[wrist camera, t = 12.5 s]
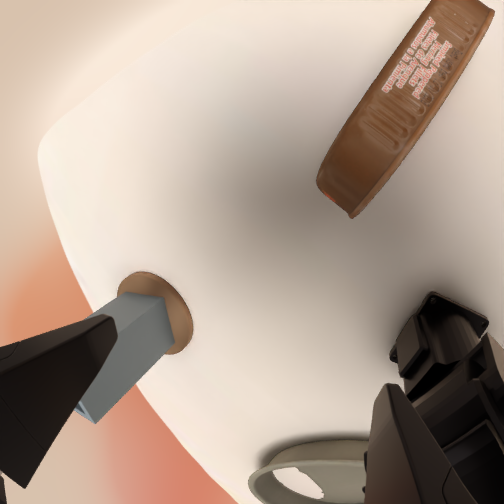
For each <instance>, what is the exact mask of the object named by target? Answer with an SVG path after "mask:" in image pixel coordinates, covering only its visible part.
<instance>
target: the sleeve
mask: <svg viewBox="0 0 504 504" xmlns="http://www.w3.org/2000/svg"><path fill="white" fill-rule="evenodd" d="M100 314H107V315H109V316H112V317H113V318H114V320H115V324H116V328H117V332H118V339H117V342H116V343H115V345H114V347H113V349H112V350H111V352H110V354H109V356H108V358H107V359H106V361H105V363H104V365H103V367H102V368H101V370H100V372H99V373H98V375H97V376H96V378H95V379H94V381H93V382H92V384H91V385H90V387H89V388H88V390H87V391H86V392H85V394H84V395H83V397H82V398H81V400H80V401H79V403H78V404H77V406H76V407H75V409H74V411H76V412H77V413H79V414H80V415H82V416H83V417H85V418H87V419H88V420H90V421H91V422H93V423H94V424H96V423H97V422H98V421H99V420H100V419H101V418H102V417H103V416H104V415H105V414H106V413H107V412H108V411H109V410H110V409H111V408H112V407H113V406H114V405H115V404H116V403H117V402H118V401H119V400H120V399H121V398H122V397H123V396H124V394H126V393H127V392H128V391H129V390H130V389H131V388H132V386H134V385H135V383H136V382H137V381H138V380H139V379H140V378H141V377H142V376H143V375H144V374H145V373H146V372H147V371H148V370H149V369H150V368H151V367H152V366H153V365H154V364H155V363H156V362H157V361H158V360H159V359H160V358H161V357H162V356H163V355H164V354H165V353H166V352H167V351H168V350H169V349H170V348H171V347H172V346H173V344H174V343H175V340H174V336H173V332H172V328H171V324H170V321H169V317H168V313H167V308H166V304H165V300H164V298H163V297H157V296H150V295H144V294H137V293H131V292H124V293H123V294H121V295H120V296H118V297H117V298H115V299H114V300H112V301H111V302H109V303H108V304H106V305H105V306H103V307H102V308H100V309H99V310H97V311H96V312H94V313H93V314H91V315H90V316H89V317H87V318H85V319H88V318H91V317H94V316H97V315H100ZM85 319H84V320H85Z"/></svg>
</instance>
